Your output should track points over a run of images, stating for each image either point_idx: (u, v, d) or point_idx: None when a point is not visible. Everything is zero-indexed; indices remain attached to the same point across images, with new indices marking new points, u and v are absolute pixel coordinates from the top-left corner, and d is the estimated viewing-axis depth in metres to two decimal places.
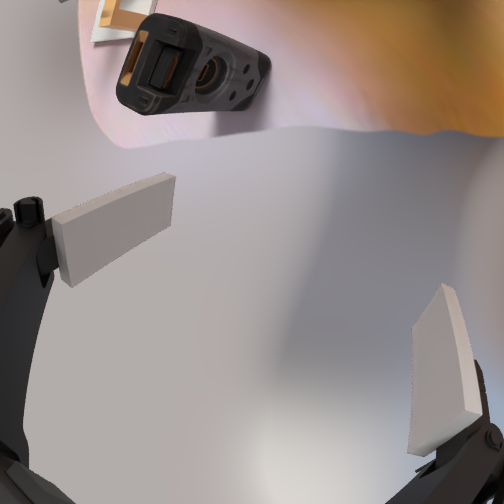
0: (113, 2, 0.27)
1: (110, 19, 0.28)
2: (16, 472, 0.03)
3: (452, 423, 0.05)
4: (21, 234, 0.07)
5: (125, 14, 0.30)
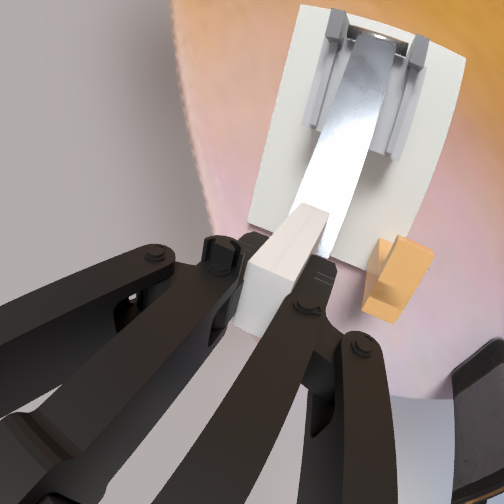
0: (412, 280, 0.19)
1: (397, 315, 0.20)
2: None
3: (267, 289, 0.09)
4: (204, 280, 0.08)
5: None
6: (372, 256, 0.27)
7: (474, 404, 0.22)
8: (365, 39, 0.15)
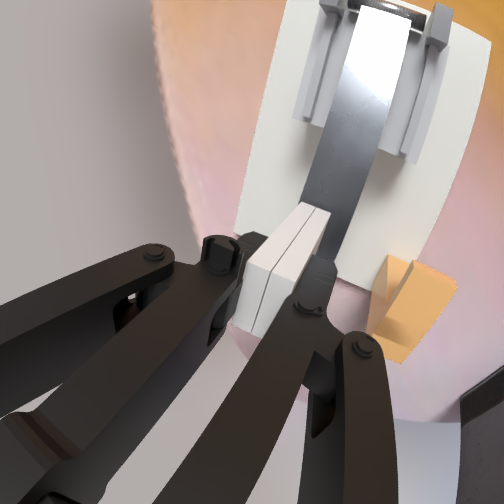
0: (427, 317, 0.14)
1: (406, 355, 0.16)
2: None
3: (268, 290, 0.09)
4: (203, 280, 0.08)
5: None
6: (379, 276, 0.22)
7: (483, 436, 0.17)
8: (370, 12, 0.10)
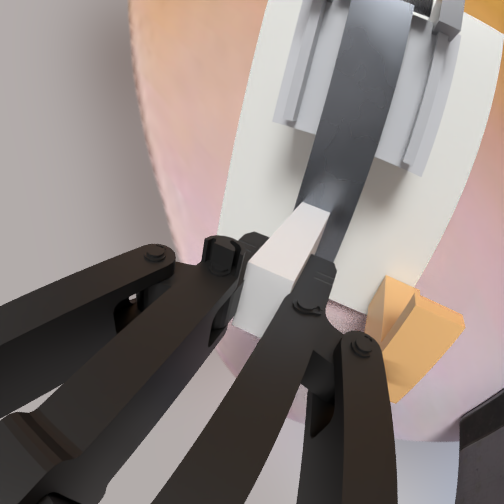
0: (428, 357, 0.12)
1: (402, 395, 0.13)
2: None
3: (267, 289, 0.09)
4: (204, 280, 0.08)
5: None
6: (375, 300, 0.20)
7: (482, 462, 0.15)
8: None
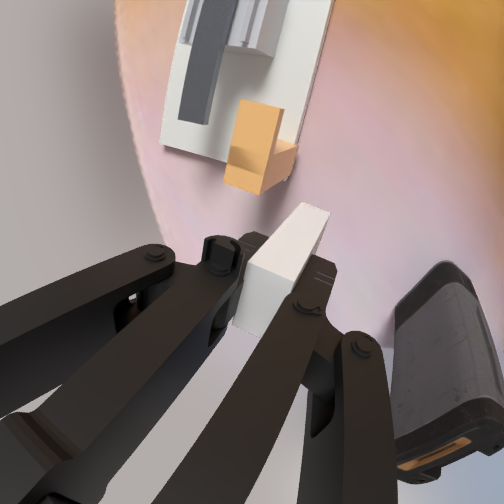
0: (264, 139, 0.19)
1: (260, 183, 0.21)
2: None
3: (267, 289, 0.09)
4: (204, 280, 0.08)
5: (277, 161, 0.22)
6: None
7: (414, 334, 0.22)
8: None
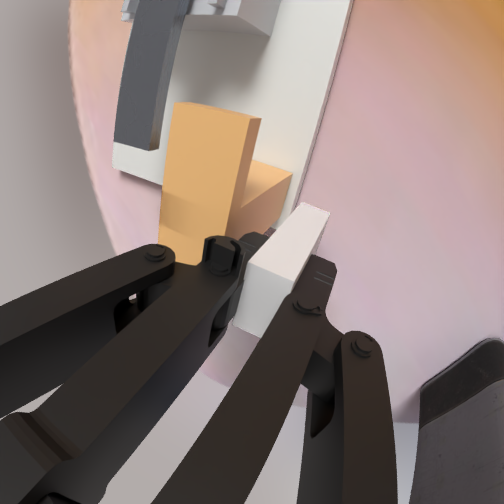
0: (219, 182, 0.10)
1: None
2: None
3: (267, 289, 0.09)
4: (204, 280, 0.08)
5: (252, 213, 0.13)
6: None
7: (447, 446, 0.13)
8: None
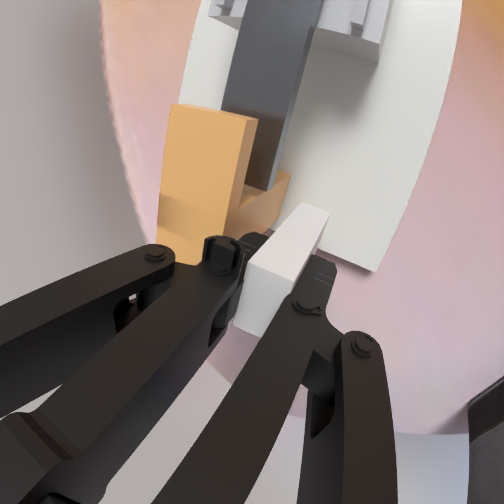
0: (216, 184, 0.10)
1: None
2: None
3: (267, 289, 0.09)
4: (204, 280, 0.08)
5: (250, 214, 0.13)
6: None
7: (500, 454, 0.11)
8: None
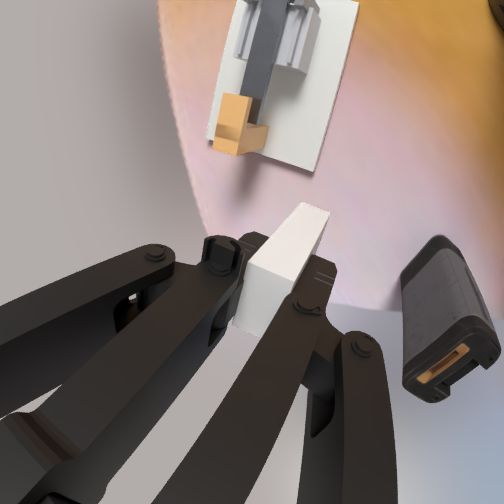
0: (238, 118, 0.28)
1: (236, 148, 0.30)
2: None
3: (267, 289, 0.09)
4: (204, 280, 0.08)
5: (250, 134, 0.31)
6: None
7: (418, 288, 0.29)
8: (268, 1, 0.23)
